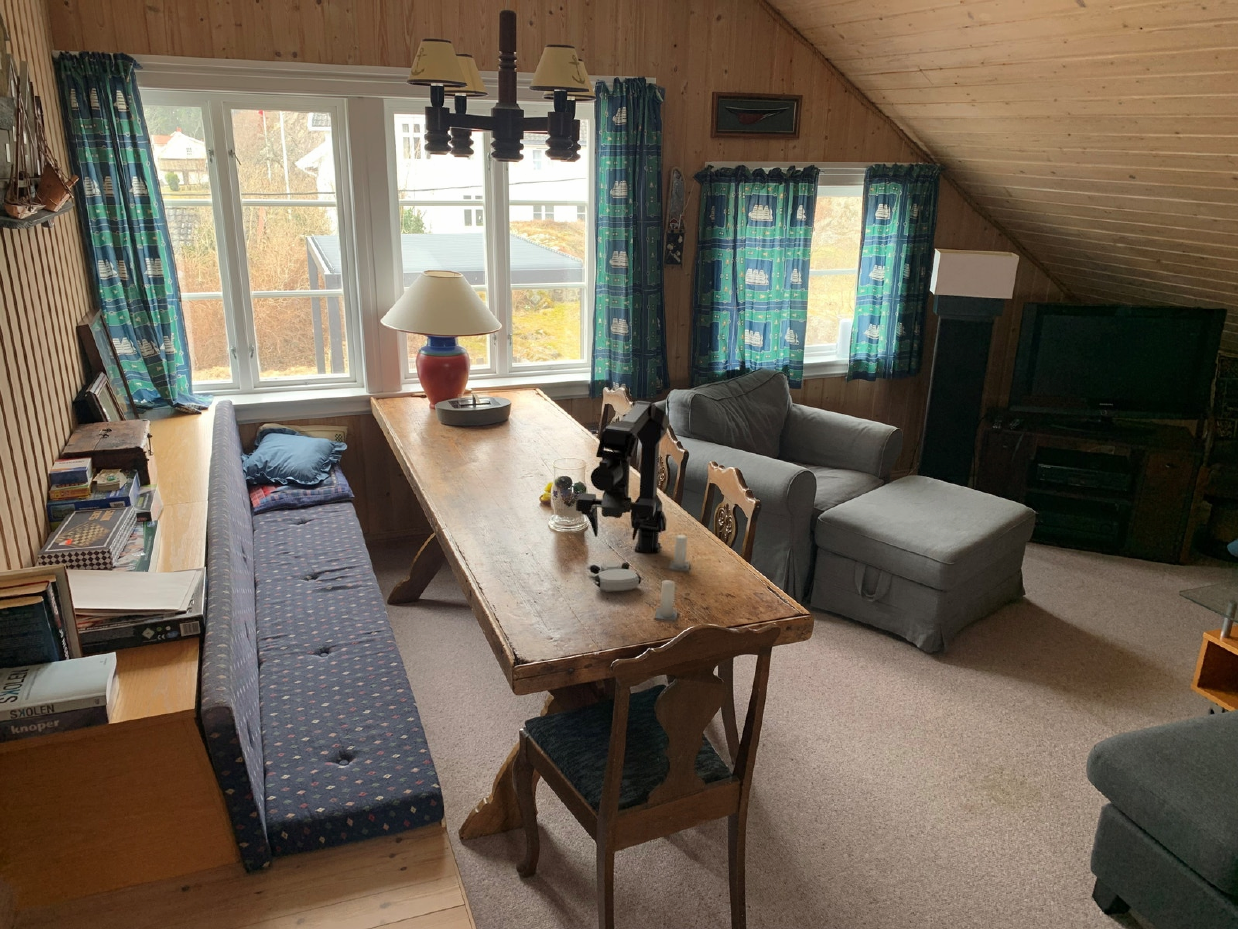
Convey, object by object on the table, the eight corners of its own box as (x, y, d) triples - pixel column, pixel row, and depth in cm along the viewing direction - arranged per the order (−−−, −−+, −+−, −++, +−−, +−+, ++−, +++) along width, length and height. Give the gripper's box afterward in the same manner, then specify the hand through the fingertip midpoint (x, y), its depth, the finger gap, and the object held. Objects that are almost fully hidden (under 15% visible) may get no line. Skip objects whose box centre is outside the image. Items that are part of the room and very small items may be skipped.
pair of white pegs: (671, 562, 238) (673, 532, 235) (689, 564, 237) (692, 534, 234) (654, 619, 207) (656, 586, 204) (675, 622, 206) (677, 588, 203)
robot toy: (584, 576, 230) (597, 598, 216) (584, 560, 229) (597, 581, 215) (630, 573, 233) (645, 595, 219) (630, 557, 232) (646, 577, 217)
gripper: (572, 485, 206) (570, 547, 210) (652, 492, 203) (648, 555, 208) (581, 470, 216) (579, 529, 221) (657, 476, 214) (654, 536, 219)
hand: (614, 537), depth 217 cm, fingers open, 9 cm apart
